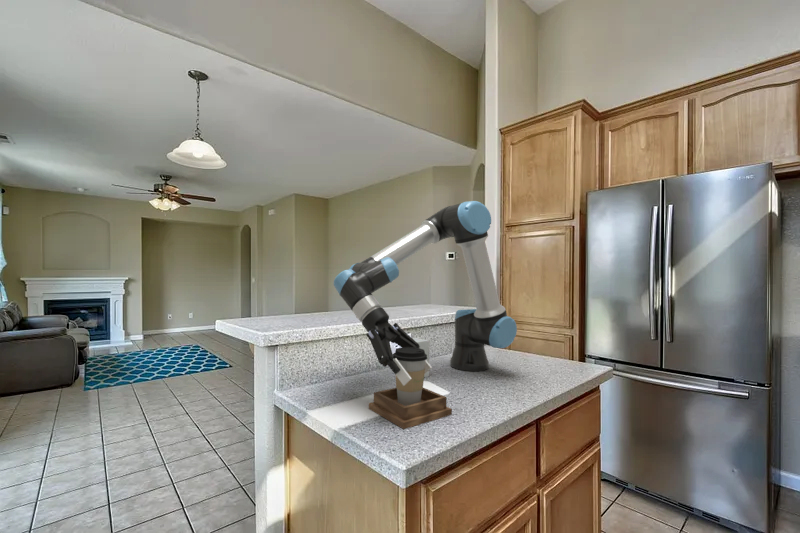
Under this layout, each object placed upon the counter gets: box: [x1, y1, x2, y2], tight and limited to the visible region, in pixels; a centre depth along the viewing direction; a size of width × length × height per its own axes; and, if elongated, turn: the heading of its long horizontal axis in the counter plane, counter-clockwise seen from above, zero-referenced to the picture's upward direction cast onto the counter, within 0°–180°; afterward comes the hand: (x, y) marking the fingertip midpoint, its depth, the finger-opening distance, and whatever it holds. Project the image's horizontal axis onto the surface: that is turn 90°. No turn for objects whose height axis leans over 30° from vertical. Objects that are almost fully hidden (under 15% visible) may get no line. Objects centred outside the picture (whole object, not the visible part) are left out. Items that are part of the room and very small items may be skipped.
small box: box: [411, 337, 430, 378], centre depth 134 cm, size 8×6×13 cm
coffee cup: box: [392, 347, 427, 406], centre depth 99 cm, size 9×9×15 cm
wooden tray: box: [368, 387, 453, 430], centre depth 99 cm, size 16×16×4 cm
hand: (418, 376), depth 98 cm, fingers open, 12 cm apart
